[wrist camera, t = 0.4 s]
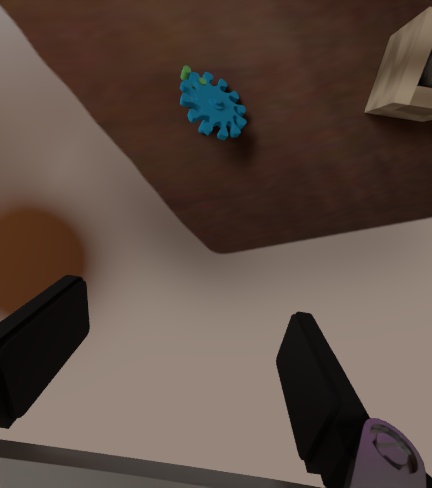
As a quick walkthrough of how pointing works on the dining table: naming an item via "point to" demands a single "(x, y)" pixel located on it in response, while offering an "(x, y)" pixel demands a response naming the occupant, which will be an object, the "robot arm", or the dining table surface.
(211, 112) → the gear
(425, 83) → the metal peg
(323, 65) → the dining table surface
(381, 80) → the socket block
